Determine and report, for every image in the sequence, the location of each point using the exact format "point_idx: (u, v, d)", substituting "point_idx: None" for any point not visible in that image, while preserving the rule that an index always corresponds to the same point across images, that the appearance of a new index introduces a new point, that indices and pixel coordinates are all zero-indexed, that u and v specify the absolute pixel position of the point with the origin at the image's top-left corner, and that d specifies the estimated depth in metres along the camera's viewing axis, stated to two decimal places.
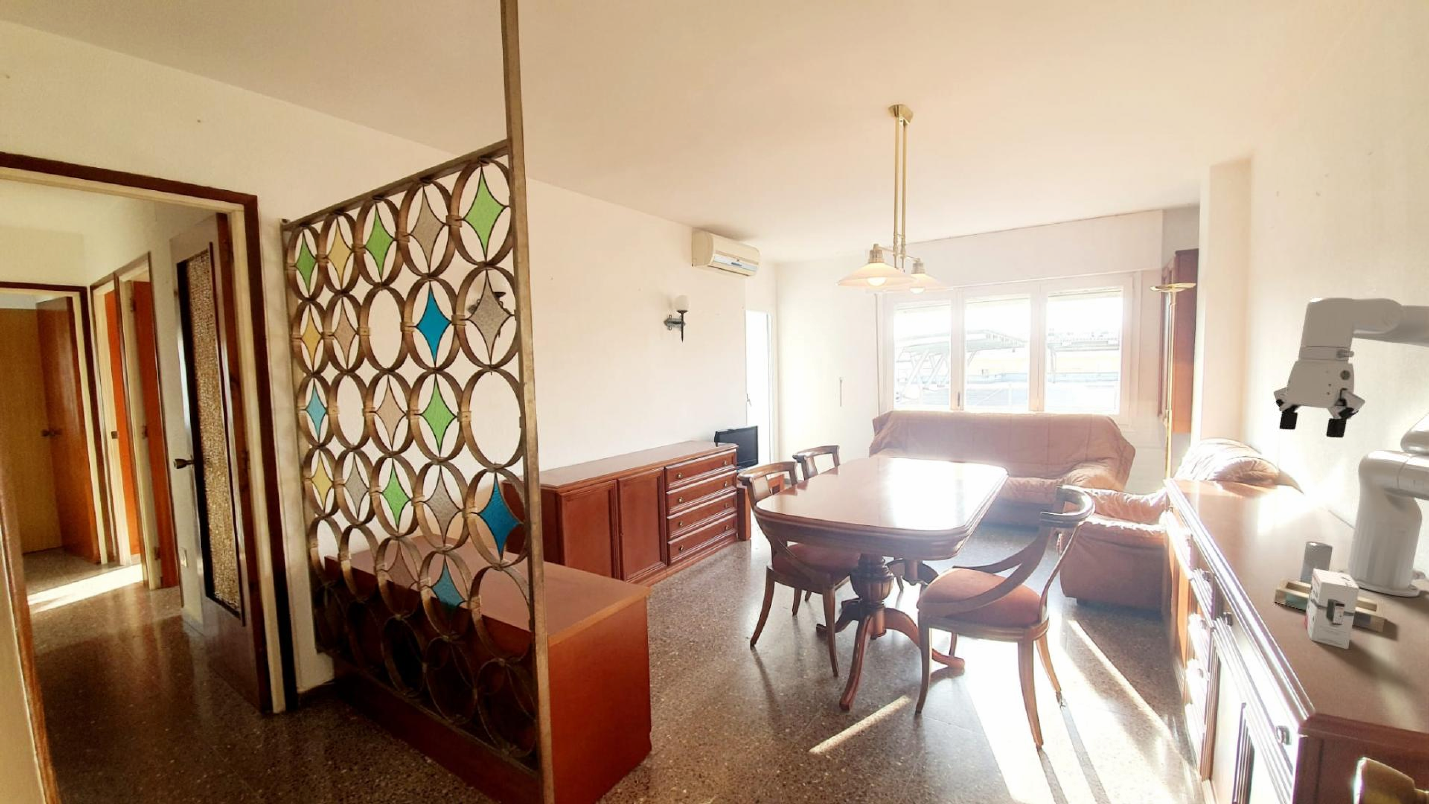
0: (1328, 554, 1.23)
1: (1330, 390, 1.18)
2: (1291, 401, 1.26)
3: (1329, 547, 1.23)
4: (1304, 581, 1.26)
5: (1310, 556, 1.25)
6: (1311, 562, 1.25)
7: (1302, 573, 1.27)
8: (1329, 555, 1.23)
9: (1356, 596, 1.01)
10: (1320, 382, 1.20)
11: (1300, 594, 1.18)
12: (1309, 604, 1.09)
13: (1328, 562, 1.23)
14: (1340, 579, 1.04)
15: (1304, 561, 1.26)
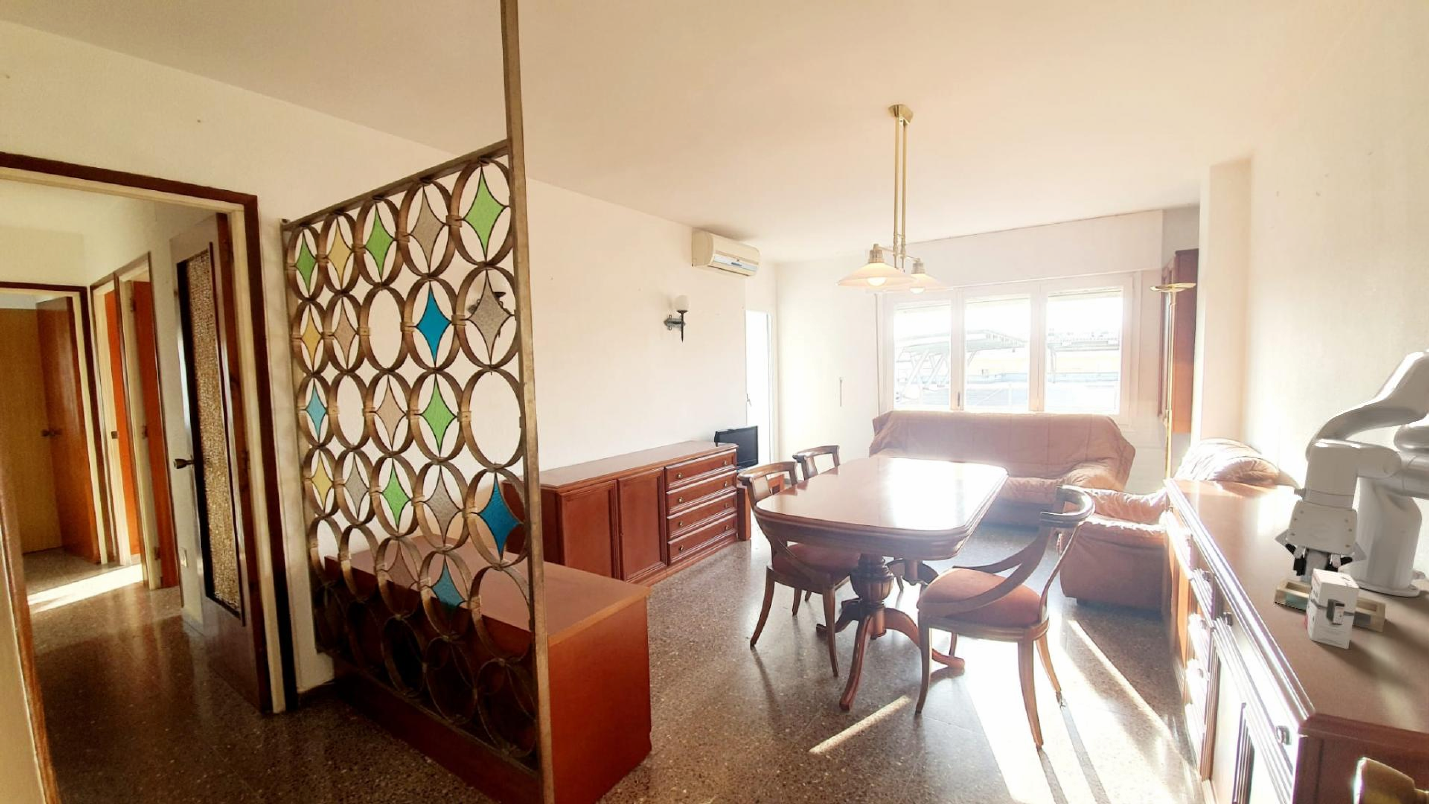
0: (1328, 554, 1.23)
1: None
2: None
3: None
4: (1304, 581, 1.26)
5: (1310, 556, 1.25)
6: (1311, 562, 1.25)
7: (1302, 573, 1.27)
8: (1329, 555, 1.23)
9: (1356, 596, 1.01)
10: None
11: (1300, 594, 1.18)
12: (1309, 604, 1.09)
13: (1328, 562, 1.23)
14: (1340, 579, 1.04)
15: (1304, 561, 1.26)
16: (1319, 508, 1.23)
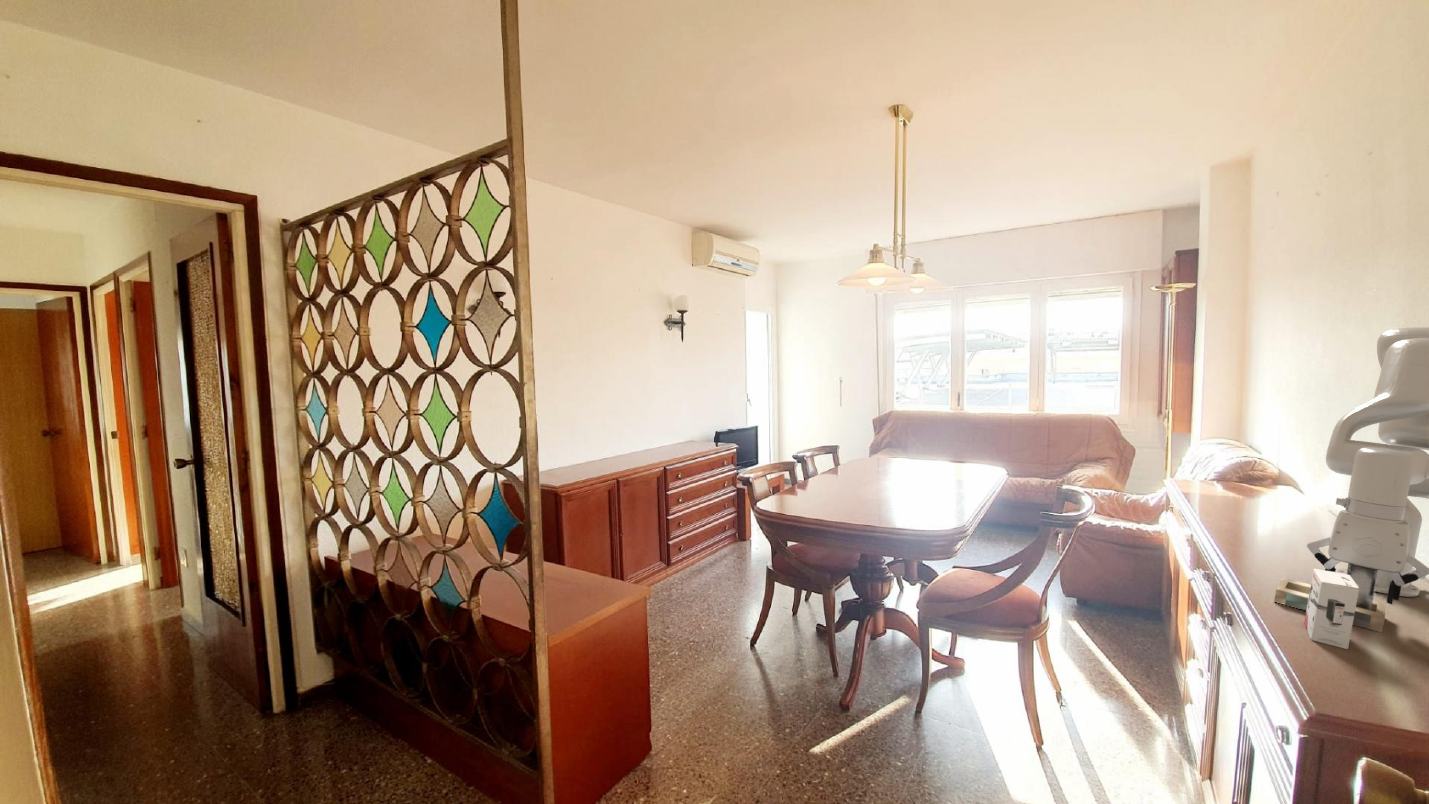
0: (1373, 576, 1.12)
1: None
2: None
3: None
4: None
5: (1353, 578, 1.13)
6: None
7: None
8: (1375, 577, 1.12)
9: (1356, 596, 1.01)
10: None
11: (1300, 594, 1.18)
12: (1309, 604, 1.09)
13: (1374, 585, 1.12)
14: (1340, 579, 1.04)
15: None
16: (1366, 520, 1.11)
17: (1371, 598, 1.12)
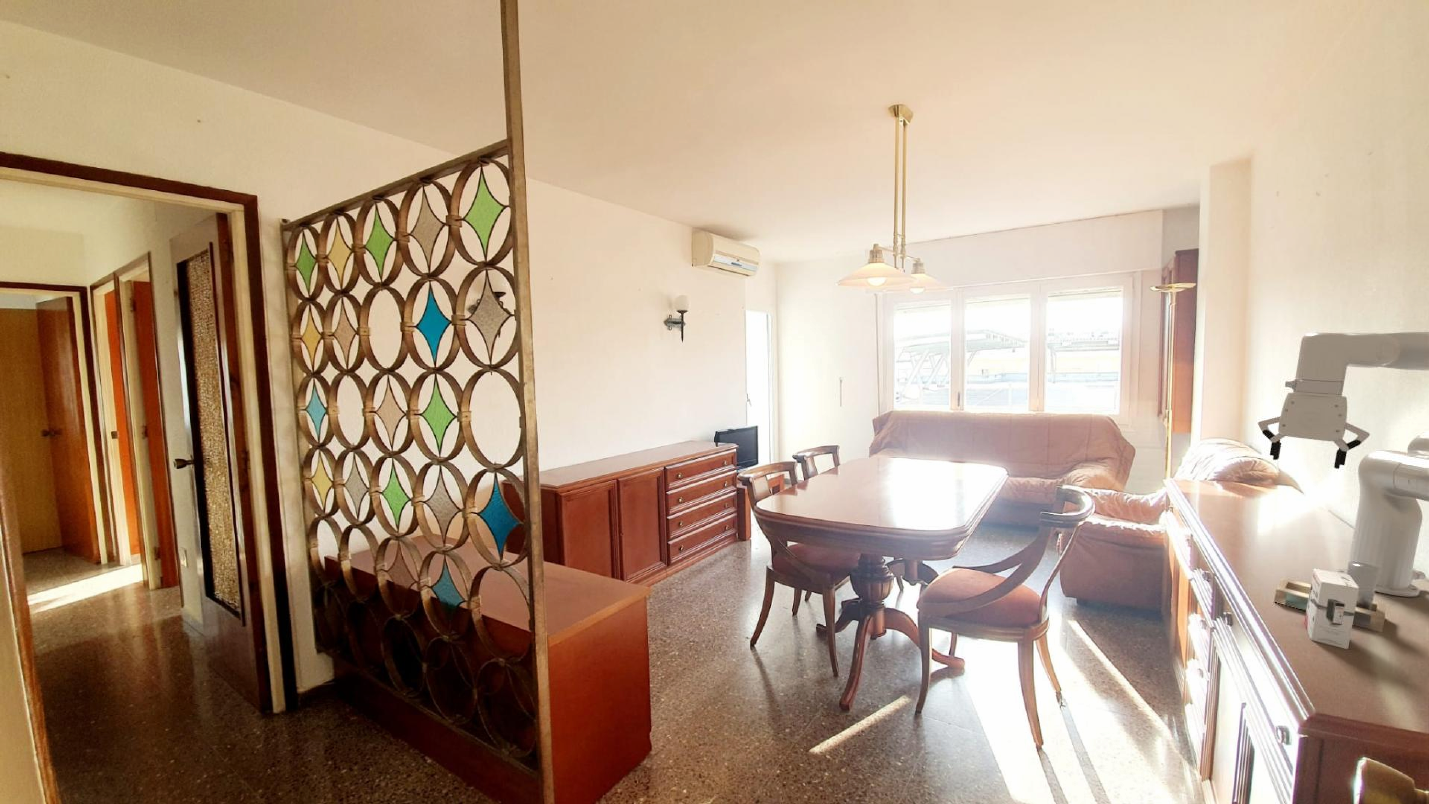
0: (1373, 576, 1.12)
1: None
2: None
3: (1375, 569, 1.12)
4: None
5: (1353, 578, 1.13)
6: None
7: None
8: (1375, 577, 1.12)
9: (1356, 596, 1.01)
10: None
11: (1300, 594, 1.18)
12: (1309, 604, 1.09)
13: (1374, 585, 1.12)
14: (1340, 579, 1.04)
15: None
16: (1310, 396, 1.24)
17: (1371, 598, 1.12)
